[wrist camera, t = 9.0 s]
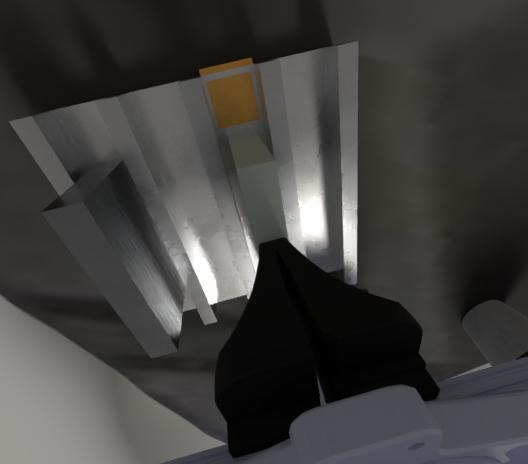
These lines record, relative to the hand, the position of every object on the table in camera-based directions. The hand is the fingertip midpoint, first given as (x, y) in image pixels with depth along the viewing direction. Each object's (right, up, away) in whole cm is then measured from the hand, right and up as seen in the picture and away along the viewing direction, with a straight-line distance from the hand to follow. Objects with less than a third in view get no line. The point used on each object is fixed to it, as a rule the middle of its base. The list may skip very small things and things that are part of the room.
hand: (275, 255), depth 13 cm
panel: (-1, +3, +5) cm, 6 cm away
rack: (-3, +3, +6) cm, 7 cm away
